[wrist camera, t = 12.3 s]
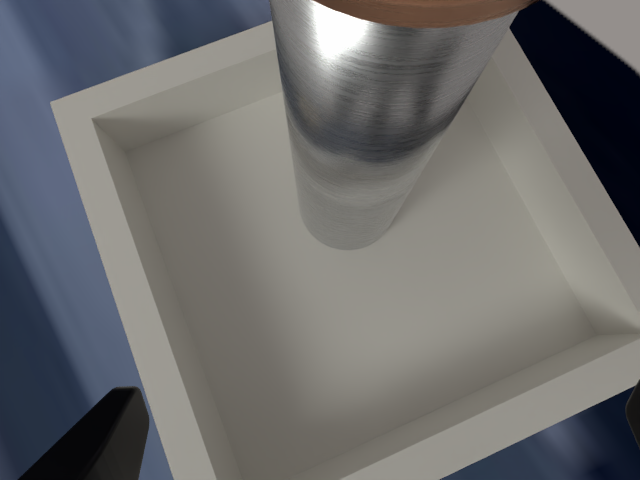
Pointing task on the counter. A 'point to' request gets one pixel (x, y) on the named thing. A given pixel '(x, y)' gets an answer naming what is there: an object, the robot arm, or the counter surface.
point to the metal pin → (375, 99)
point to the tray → (350, 276)
